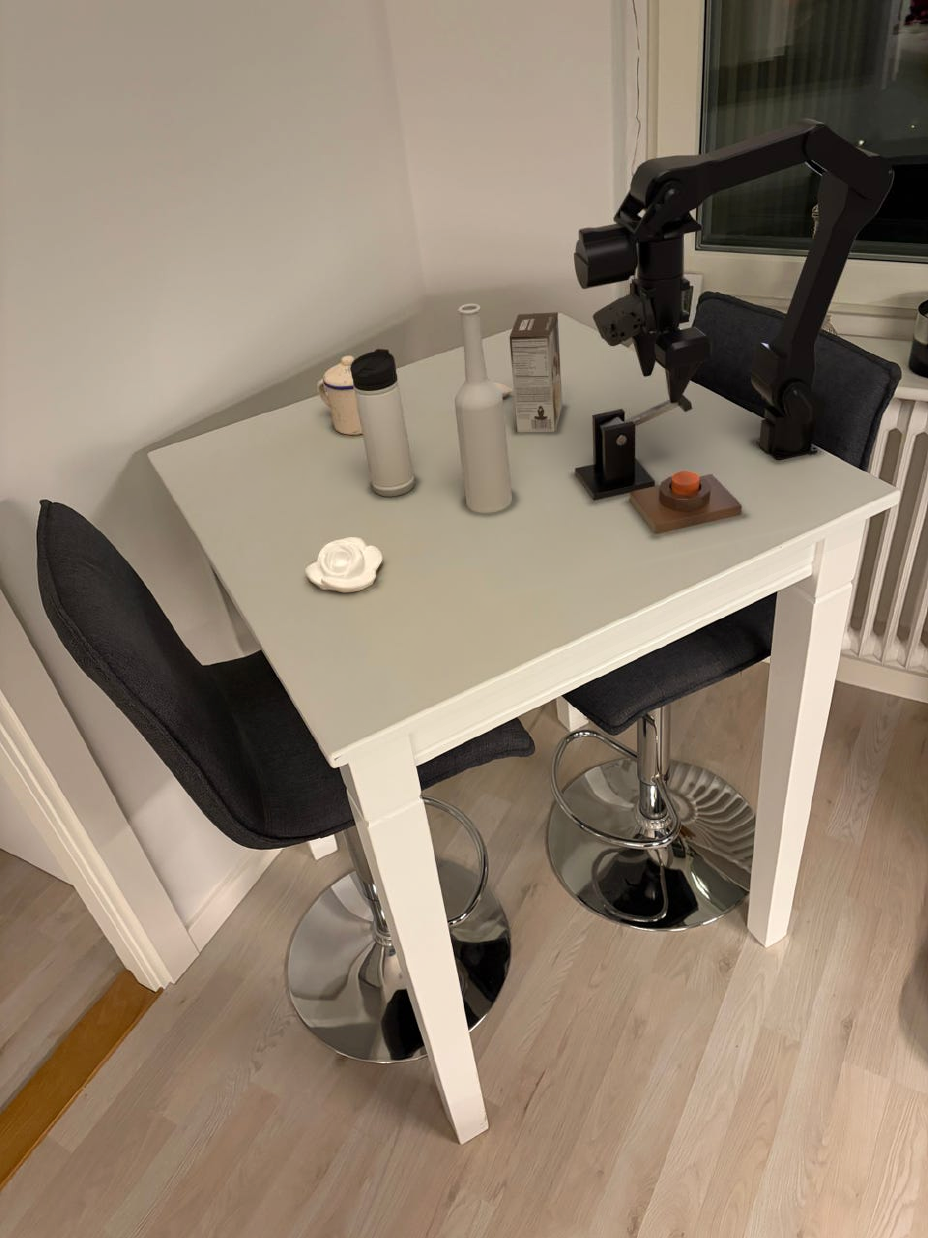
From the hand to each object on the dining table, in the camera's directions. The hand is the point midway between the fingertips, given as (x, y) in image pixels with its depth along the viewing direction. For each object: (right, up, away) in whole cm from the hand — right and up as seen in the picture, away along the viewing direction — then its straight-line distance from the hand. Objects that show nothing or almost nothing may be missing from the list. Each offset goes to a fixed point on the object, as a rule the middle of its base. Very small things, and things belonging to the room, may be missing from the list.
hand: (660, 388), depth 125 cm
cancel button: (+3, -14, -2) cm, 14 cm away
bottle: (-23, -14, +7) cm, 28 cm away
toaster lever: (-1, -4, +3) cm, 5 cm away
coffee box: (-14, +1, +25) cm, 29 cm away
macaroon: (-21, +6, +33) cm, 40 cm away
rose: (-42, -25, -3) cm, 49 cm away
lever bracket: (-5, -11, +7) cm, 15 cm away
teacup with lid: (-45, +2, +32) cm, 55 cm away
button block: (+3, -16, 0) cm, 17 cm away
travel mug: (-37, -11, +13) cm, 41 cm away
